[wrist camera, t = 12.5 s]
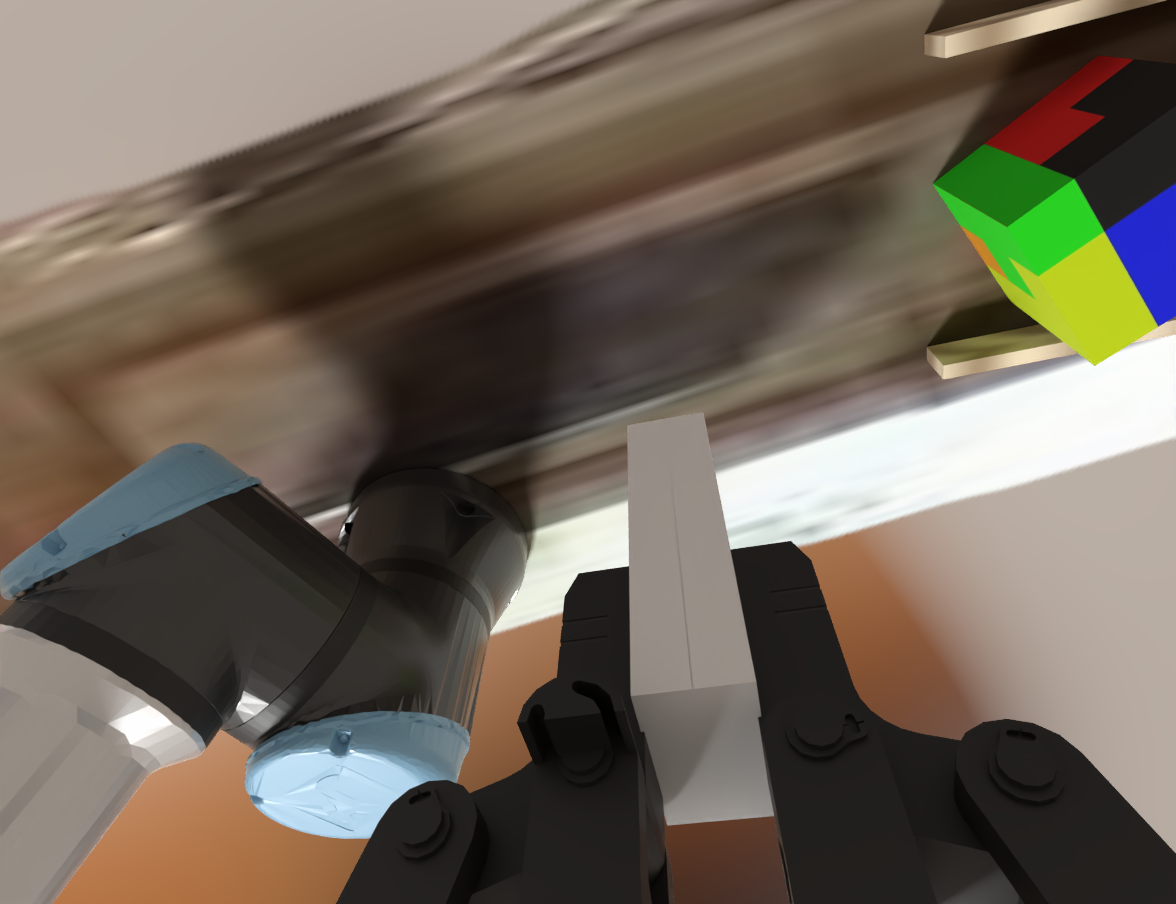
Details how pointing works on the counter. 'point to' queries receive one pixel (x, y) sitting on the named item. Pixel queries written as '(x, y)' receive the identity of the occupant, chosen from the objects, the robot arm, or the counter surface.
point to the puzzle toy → (1081, 205)
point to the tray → (1066, 8)
